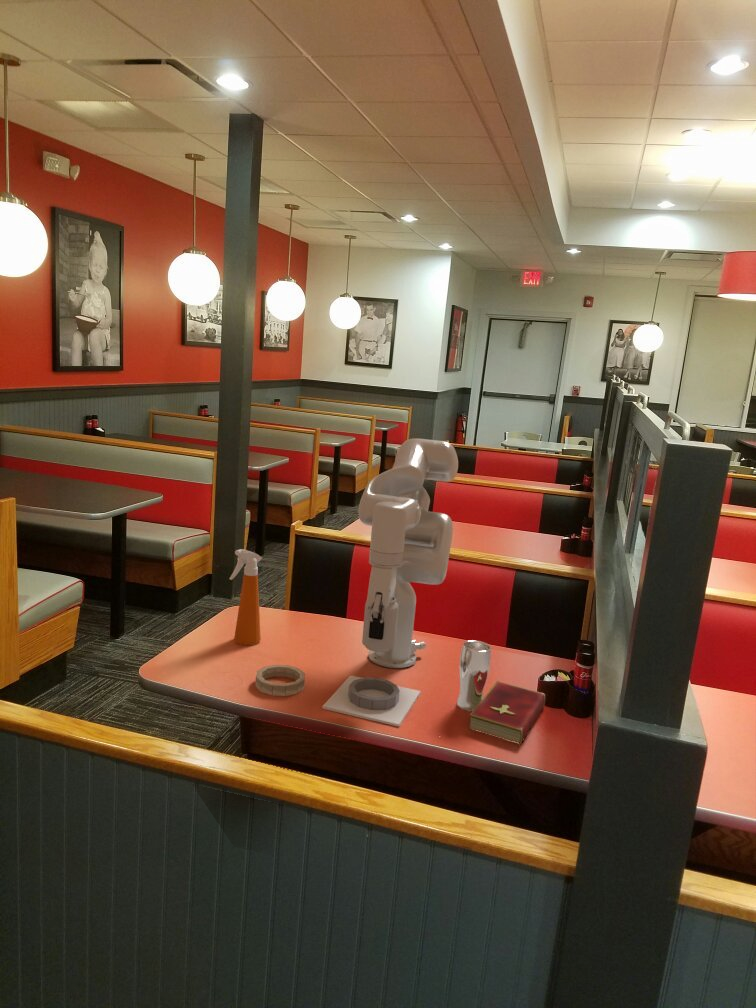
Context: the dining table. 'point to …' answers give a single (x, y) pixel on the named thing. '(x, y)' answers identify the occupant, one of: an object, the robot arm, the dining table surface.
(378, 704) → the holder
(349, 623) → the dining table surface
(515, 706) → the hardcover book
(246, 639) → the spray bottle
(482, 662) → the silver tumbler
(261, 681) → the stand ring
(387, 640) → the can
